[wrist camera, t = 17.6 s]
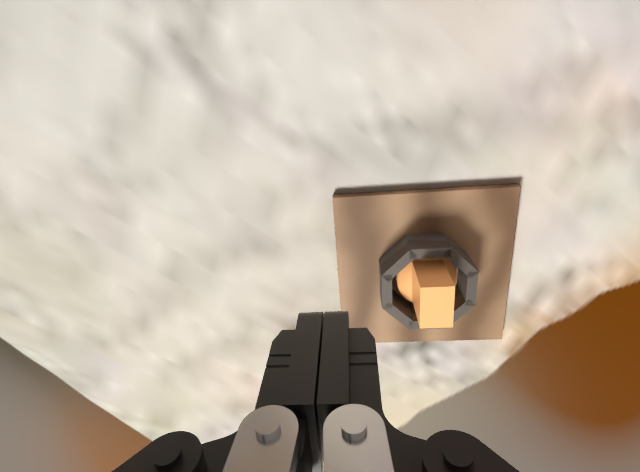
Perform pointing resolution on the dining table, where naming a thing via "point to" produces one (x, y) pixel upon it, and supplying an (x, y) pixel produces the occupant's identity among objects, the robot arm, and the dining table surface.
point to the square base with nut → (426, 242)
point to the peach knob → (430, 290)
